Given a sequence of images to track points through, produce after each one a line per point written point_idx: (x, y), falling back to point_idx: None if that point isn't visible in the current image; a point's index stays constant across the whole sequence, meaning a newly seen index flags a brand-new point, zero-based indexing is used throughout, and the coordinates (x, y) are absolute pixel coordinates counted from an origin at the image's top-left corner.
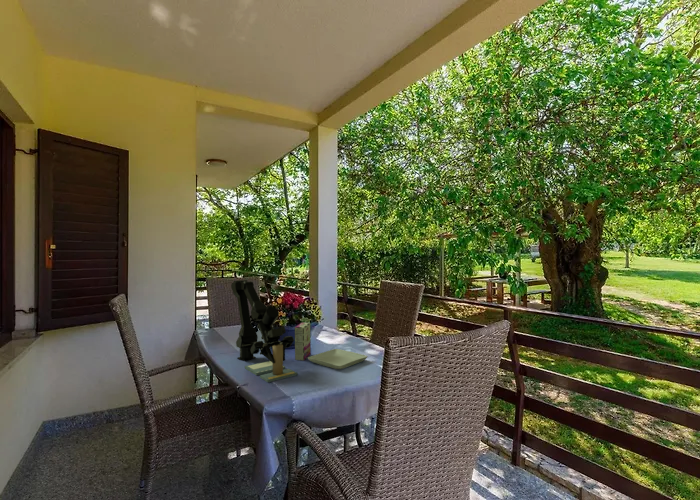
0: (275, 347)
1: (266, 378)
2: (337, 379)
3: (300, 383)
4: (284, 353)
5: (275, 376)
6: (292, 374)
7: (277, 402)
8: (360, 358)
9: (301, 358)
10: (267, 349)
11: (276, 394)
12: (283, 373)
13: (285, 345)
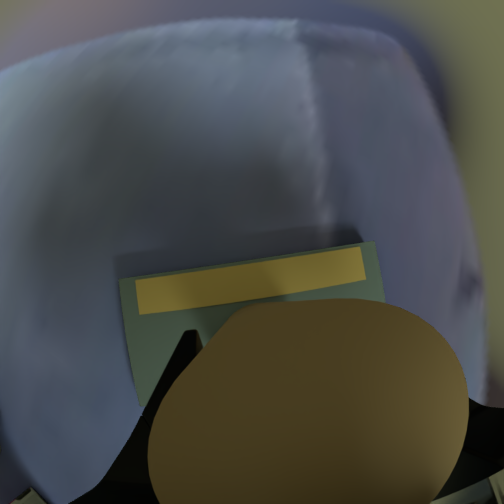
0: (436, 338)
1: (373, 276)
2: (17, 123)
3: (177, 134)
4: (156, 397)
5: (305, 278)
6: (160, 274)
7: (356, 29)
8: None
9: (36, 502)
10: (493, 413)
11: (349, 76)
12: (219, 321)
13: (76, 501)
